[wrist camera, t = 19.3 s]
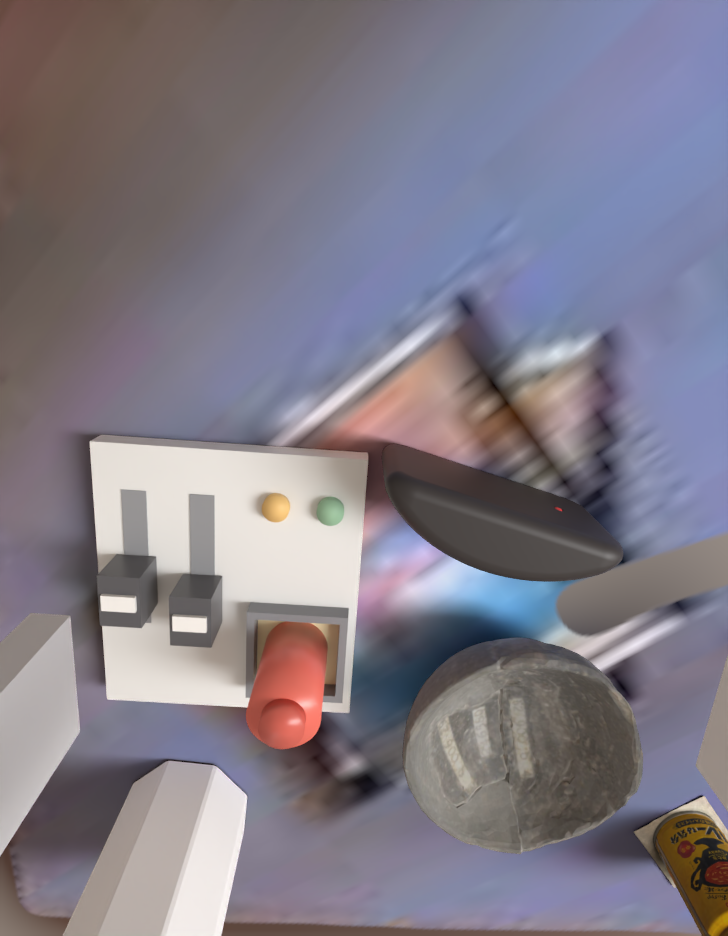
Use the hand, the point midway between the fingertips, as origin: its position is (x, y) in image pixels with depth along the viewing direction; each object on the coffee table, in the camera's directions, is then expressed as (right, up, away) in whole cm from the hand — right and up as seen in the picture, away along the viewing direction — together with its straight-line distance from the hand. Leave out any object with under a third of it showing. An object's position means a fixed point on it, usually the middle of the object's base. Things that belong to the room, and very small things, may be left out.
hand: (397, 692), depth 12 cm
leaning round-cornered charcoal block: (+8, +4, +33) cm, 35 cm away
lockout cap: (-6, -10, +35) cm, 37 cm away
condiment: (+30, -31, +44) cm, 61 cm away
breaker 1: (-18, -4, +33) cm, 38 cm away
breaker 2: (-13, -6, +34) cm, 37 cm away
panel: (-11, -4, +35) cm, 37 cm away
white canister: (-17, -27, +43) cm, 53 cm away
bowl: (+11, -15, +39) cm, 43 cm away
